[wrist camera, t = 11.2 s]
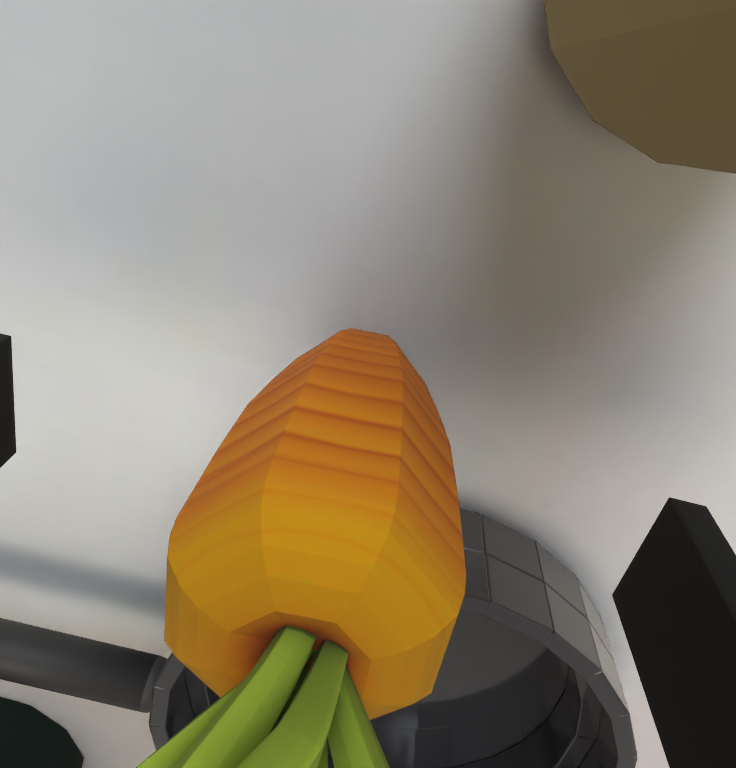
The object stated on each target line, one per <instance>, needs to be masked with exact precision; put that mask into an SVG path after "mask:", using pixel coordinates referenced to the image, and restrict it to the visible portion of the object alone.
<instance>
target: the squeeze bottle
mask: <svg viewBox="0 0 736 768" xmlns="http://www.w3.org/2000/svg"><path fill="white" fill-rule="evenodd" d="M544 7H545V14H546V21H547V28H548V35H549V42H550V49H551V51H552V53H553V54H554V56H555V58H556V59H557V61H558V63H559V64H560V66H561V68H562V69H563V71H564V73H565V74H566V76H567V78H568V79H569V81H570V83H571V84H572V86H573V88H574V89H575V91H576V92H577V94H578V96H579V97H580V99H581V101H582V102H583V104H584V106H585V107H586V109H587V111H588V112H589V114H590V116H591V117H592V119H593V121H595V122H596V123H598V124H599V125H601V126H603V127H604V128H606V129H607V130H609V131H610V132H612V133H613V134H615V135H616V136H618V137H620V138H621V139H623V140H624V141H626V142H627V143H629V144H630V145H632V146H633V147H635V148H636V149H638V150H640V151H641V152H643V153H644V154H646V155H647V156H649V157H650V158H652V159H653V160H655V161H657V162H659V163H666V164H673V165H680V166H687V167H694V168H701V169H708V170H715V171H721V172H728V173H735V174H736V0H544Z"/></svg>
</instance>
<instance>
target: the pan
mask: <svg viewBox="0 0 736 768" xmlns="http://www.w3.org/2000/svg"><path fill="white" fill-rule="evenodd" d="M460 518H461V528H462V538H463V548H464V557H465V567H466V585H465V595H464V598H463V601H462V604H461V607H460V610H459V613H458V616H457V619H456V622H455V625H454V628H453V631H452V634H451V637H450V640H449V643H448V646H447V648H446V651H445V654H444V657H443V660H442V663H441V666H440V669H439V672H438V675H437V678H436V681H435V683H434V686H433V689H432V692H431V694H429V695H427V696H426V697H424V698H422V699H421V700H419V701H417V702H416V703H414V704H412V705H409V706H407V707H404V708H401V709H399V710H396V711H393V712H390V713H388V714H385V715H382V716H380V717H377V718H374V719H371V720H370V722H371V724H372V727H373V729H374V731H375V734H376V736H377V739H378V741H379V743H380V746H381V748H382V751H383V753H384V755H385V758H386V760H387V762H388V765H389V767H390V768H635V765H636V761H637V751H636V745H635V740H634V734H633V729H632V723H631V718H630V713H629V710H628V706H627V703H626V700H625V696H624V693H623V690H622V686H621V683H620V680H619V676H618V673H617V669H616V666H615V664H614V659H613V656H612V653H611V649H610V646H609V643H608V639H607V636H606V633H605V629H604V626H603V623H602V619H601V617H600V614H599V613H598V611H597V609H596V608H595V606H594V605H593V603H592V601H591V600H590V598H589V596H588V595H587V593H586V592H585V590H584V588H583V587H582V585H581V583H580V582H579V580H578V578H577V577H576V576H575V575H574V574H573V573H572V572H571V571H570V570H569V569H568V568H566V567H565V566H564V565H563V564H562V563H561V562H560V561H558V560H557V559H556V558H555V557H554V556H553V555H552V554H550V553H549V552H548V551H547V550H546V549H545V548H544V547H542V546H541V545H540V544H539V543H538V542H537V541H534V540H533V539H531V538H529V537H527V536H525V535H523V534H521V533H519V532H517V531H515V530H513V529H511V528H509V527H507V526H505V525H503V524H501V523H499V522H497V521H495V520H493V519H491V518H489V517H487V516H485V515H483V514H480V513H477V512H473V511H469V510H465V509H461V508H460ZM218 699H220V697H219V696H218V695H217V694H216V693H215V692H214V691H213V690H212V689H210V688H209V687H208V686H207V685H206V684H205V683H204V682H203V681H202V680H200V679H199V678H198V677H197V676H196V675H195V674H194V673H193V672H192V671H191V670H189V669H188V668H187V667H186V666H185V665H184V664H183V663H182V662H181V661H180V660H178V659H177V658H176V656H175V655H174V653H173V652H172V651H171V649H170V648H169V650H168V652H167V654H166V657H165V659H164V661H163V663H162V666H161V668H160V670H159V672H158V675H157V677H156V679H155V681H154V684H153V690H152V703H153V708H152V710H151V711H150V718H149V727H150V731H151V734H152V737H153V741H154V744H155V748H156V750H158V749H159V748H160V747H161V746H162V745H164V744H165V743H166V742H167V741H168V740H169V739H171V738H172V737H173V736H174V735H175V734H177V733H178V732H179V731H180V730H181V729H182V728H184V727H185V726H186V725H187V724H188V723H190V722H191V721H192V720H193V719H194V718H196V717H197V716H198V715H199V714H200V713H202V712H203V711H204V710H206V709H207V708H208V707H209V706H211V705H212V704H213V703H214V702H216V701H217V700H218ZM327 752H328V768H334V764H333V759H332V755H331V750H330V746H329V742H328V737H327Z"/></svg>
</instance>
